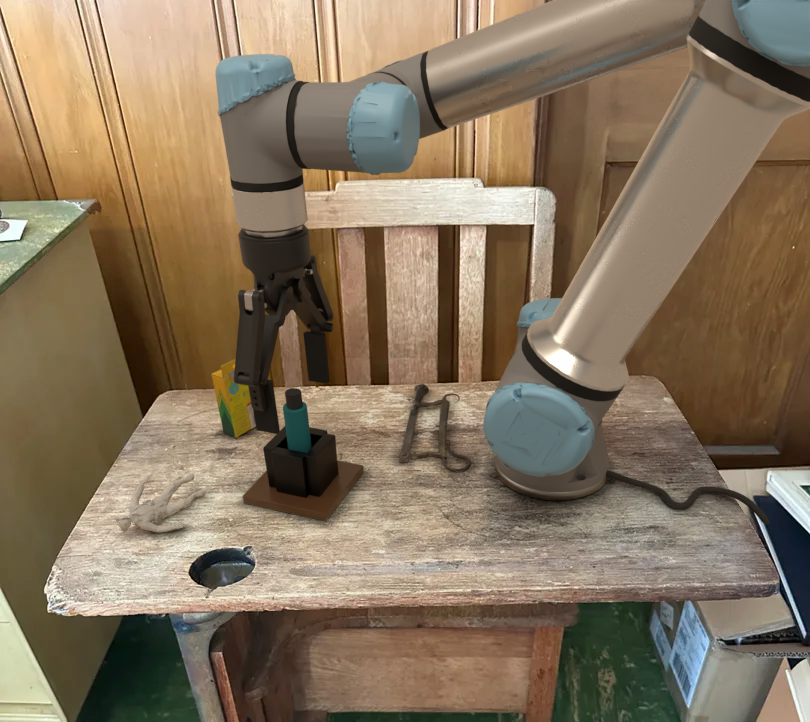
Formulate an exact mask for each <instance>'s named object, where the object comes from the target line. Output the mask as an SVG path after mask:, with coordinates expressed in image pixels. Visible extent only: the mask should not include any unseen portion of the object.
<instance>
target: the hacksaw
mask: <svg viewBox="0 0 810 722" xmlns="http://www.w3.org/2000/svg"><path fill="white" fill-rule="evenodd" d="M414 391H415V393H414V399H413V401H412V402H413V403H412V407H411V408H410V411H409V415H408V421H407V425H406V428H405V432H404V437H403V441H402V445H401V450H400V451H399V453H398V462H399V463H405V464H408V461H409V459H410V460H415V459H416V460H417V459H421V458H426V457H435V458H436V459H437V458H439V459H440V460H441V462H440V463H441V464H443V467H444V468H445V469H447V470H448V471H450V472H454V473H455V472H464V471H466V470H468V469H469V468H470V467H471V465H472V461H471V459H470V458H469V457H468V456H465V455H461V454H458V453H455V452H454V451H452V450H451V442H450V441H449V440H447V425H448V418H449V411H450V403H451V402H450V401H449V400H448V399H447V397H449V396H457V398H458V400H456V401H455V402H454V404H456V403H457V402H459V401H460V399H461V398H460V396H459V395H458V394H456V393H446V394H444V395H443V397H441V399H437V400H433V401H430V402H429V401H428V402H427V401H425V402H424V401H423V398H424V396H425V395H426V394H428V392H429V391H430V389H429V387H428V385H426V384H424V383H420V384H419V383H418V384H416V385H415V386H414ZM439 406H440V414H439V425H438V451H424V452H419V453H416V451H414V452H413V453H410V452H411V447H412V443H413V442H412V441H413V436H414V432H415V429H416V423H417V419H418V415H419V414H418V413H419V410H420V408H426V409H427V410H429V408H434V407H439ZM447 452H448V453H447ZM448 454H450V455H452V456H454V457H457V458H460V459H463V460H466V461H467V465H466V466H465V467H462V468H461V467H460V468H452V467H450V466H448V465H447V463H448V461H447V459H448Z"/></svg>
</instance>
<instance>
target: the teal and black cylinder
mask: <svg viewBox="0 0 810 722" xmlns="http://www.w3.org/2000/svg"><path fill="white" fill-rule="evenodd" d="M284 397H285V398H284V399H285V403H284V404H283V405H282V413H283V421H284V426H285V428H286V436H287V443H288V449H289V450H294V451H300V452H305V453H308V452H309V450H310V449H311V448H312V446H311V437H310V429H309V427H310V419H309V412H308V404H307V403H306V402H304V401H303V395H302V391H301V389H300V388H296V387H292V388H288V389H285V391H284Z"/></svg>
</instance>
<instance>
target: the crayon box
mask: <svg viewBox="0 0 810 722" xmlns="http://www.w3.org/2000/svg"><path fill="white" fill-rule="evenodd" d="M235 359H236V358H234V359H231V360H229V361H227V362H225V363H223V364H221V365H220V369H219V370H217V371H215V372H212V373H211V374H210V375H211V379H212V384H213V389H214V394H215V397H216V398H215V399H216V403H217V406H218V412H219V418H220V422H221V427H222V432H223V433H224V434H225V435H228V436H230V437H232V438H234V439H237V438H239V437H240V436H242V435H243V434H245V433H247V432H249V431H251V430H253V429H254V428H256V424H255V418H254V412H253V408H252V405H251V398H250V393H249V387H248V386H247V385H241V384H236V383H235V382H234V371H235Z"/></svg>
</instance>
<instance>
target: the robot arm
mask: <svg viewBox="0 0 810 722" xmlns="http://www.w3.org/2000/svg"><path fill="white" fill-rule="evenodd" d="M683 49H687V50H688V51H687V52H688V58H689V70H688V72H687V74H686V76H685V78H684V79H683V81H682V83H681V85H680V87H679V88H678V90H677V92H676V94H675V95H674V97H673V99H672V101H671V102H670V105H669V106H668V108H667V110H666V112H665V114H664V115H663V117H662V119H661V121H660V123H659V124H658V125H657V128H656V130H655V131H654V133H653V135H652V137H651V138H650V140H649V142H648V144H647V146H646V148H645V149H644V151H643V153H642V155H641V157H640V158H639V160H638V161H637V164H636V165H635V167H634V169H633V170H632V172H631V175H630V176H629V178H628V179H627V181H626V183H625V185H624V187H623V188H622V191H621V192H620V194H619V195H618V197H617V199H616V201H615V202H614V204H613V207H612V208H611V210H610V212H609V214H608V216H607V217H606V219H605V221H604V223H603V225H602V226H601V228H600V229H599V231H598V233H597V235H596V237H595V239H594V240H593V243H592V244H591V246H590V248H589V250H588V252H586V255H585V257H584V259H583V260H582V262H581V264H580V265H579V267H578V269H577V271H576V273H575V275H574V277H572V279H571V282H570V284H569V286H568V287H567V289H566V290H565V292H564V295H563V296H562V297H560V298H559V297H552V298H541V299H536V300H532V301H530V302H527V303H526V304H525V305H523V306H522V307H521V309H520V311H519V316H518V321H517V322H516V327H517V338H516V339H517V340H516V345H515V350H514V352H513V354H512V356H511V358H510V360H509V361H508V364H507V365H506V368H505V370H504V372H503V374H502V376H501V378H500V380H499V381H498V384H497V386H496V388H495V390H494V392H493V393H492V395H491V396H490V397H489V398H488V400H487V402H486V405H485V411H484V416H483V422H482V423H483V434H484V437H485V439H486V441H487V444H488V446H489V449H490V450H491V451H492V453H493V454H494V455H495V456H494V457H495V458H494V470H495V474H496V476H497V478H498V479H499V480H500V481H501V483H502V484H504V485H505V487H507V488H509V489H511V490H512V491H514V492H516V493H518V494H521V495H524V496H526V497H529V498H534V499H538V500H545V501H570V500H577V499H580V498H581V499H582V498H585V497H587V496H590V495H592V494H594V493H596V492H597V491H599V490H600V489H601V488H602V487H603V486H604V485H605V484H606V482H607V480H608V478H609V479H612V480H615V481H618V482H621V483H624V484H627V485H630V486H633V487H636V488H639V489H644V490H646V491H649V492H652V493H654V494H656V495H658V496H660V497H661V498H662V499H663V501H664V503H665V504H666V505H667V506H668V507H670V508H671V509H677V510H684V509H688V508H690V507H691V506H692V505H693V504H694V503H695V501H696V500H697V498H698V497H699V496H700V495H702V494H716V495H723V496H727V497H730V498H733V499H735V500H736V501H739V502H741V503H742V504H744V505H745V506H747V507H748V508H749V509H750V510H751V511H752V512H753V513H754V514H755V515H756V517H757V518H758V519H759V520H760V521H761V523H763V524H766V525H770V524H771V521H770V519H769V517H768V516H767V515H766V513H765V512H764V511H763V509H761V507H760V506H759V505H758V504H756V503H755V502H754V501H753V500H752V499H751V498H749V497H747V496H746V495H744V494H742V493H740V492H738V491H736V490H733V489H729V488H725V487H720V486H719V487H717V486H699V487H697V488H695V489H694V490H693V491H692V492H691V493H690V495H689V496H688V498H687V500H685V501H680V502H679V501H675V500H674V499H672V498H671V496H670V495H669V493H668V492H667V491H666V490H664V489H663V488H661V487H659V486H657V485H654V484H651V483H648V482H646V481H642V480H639V479H635V478H632V477H629V476H626V475H623V474H620V473H617V472H613V471H611V470H610V457H609V453H608V447H607V443H606V438H605V432H604V428H603V427H604V426H603V419H604V417H605V416H606V414H607V413H608V412H609V410H610V408H611V406H612V405H613V404H614V402H615V401H616V400H617V398H618V397H619V395H620V394H621V392H622V391H623V389H624V388H625V386H626V385H627V383H628V381H629V376H630V375H629V370H628V366H627V363H626V358H627V356H628V355H629V353H630V352H631V351H632V349H633V347H634V346H635V345H636V342H638V340H639V339H640V337H641V336H642V334H643V332H644V331H645V330H646V328H647V326H648V325H649V323H650V322H651V320H652V319H653V318H654V316H655V315H656V313H657V311H658V310H659V308H660V307H661V306H662V303H663V302H664V301H665V299H666V298H667V296H668V295H669V293H670V292H671V290H672V288H673V287H674V285H675V284H676V283H677V282H678V280H679V278H680V277H681V275H682V274H683V272H684V271H685V269H686V268H687V266H688V264H690V262H691V260H692V259H693V257H694V255H695V253H697V251H698V249H699V248H700V247H701V245H702V244H703V242H704V240H705V239H706V237H707V236H708V234H709V233H710V232H711V230H712V228H713V227H714V225H715V224H716V223H717V220H718V219H719V218H720V216H721V215H722V213H724V210H725V209H726V208H727V206H728V204H729V203H730V201H731V200H732V198H733V196H734V195H735V194H736V192H737V190H738V189H739V188H740V186H741V184H742V183H743V182H744V180H746V179H745V178H746V177H747V176H748V174H749V173H750V172H751V170H752V168H753V166H754V165H755V164H756V162H757V160H758V159H759V158H760V156H761V155H762V153H763V152H764V150H765V149H766V147H767V146H768V144H769V143H770V141H771V140H772V138H773V136H774V135H775V133H776V132H777V130H778V129H779V127H780V126H781V124H782V123H783V121H785V120H786V119H788V118H790V117H793V116H795V115H798V114H801V113H803V112H806V111H808V110H810V0H550V1H547V2H544V3H541V4H540V5H538V6H535V7H532V8H529V9H527V10H525V11H523V12H520V13H518V14H515V15H513V16H510V17H508V18H505V19H503V20H502V19H501V20H500V21H497V22H495V23H493V24H490V25H487V26H485V27H483V28H480V29H478V30H477V29H476V30H475V31H473V32H469V33H467V34H465V35H462V36H460V37H458V38H455V39H452V40H450V41H448V42H445V43H443V44H440V45H438V46H435V47H433V48H430V49H429V50H427V51H423V52H421V53H418V54H415V55H412V56H410V57H408V58H405V59H401V60H397V61H395V62H391V63H390V64H387V65H385V66H383V67H381V68H380V69H378V70H376V71H374V72H370V73H367V74H365V75H362V76H360V77H357V78H354V79H352V80H350V81H338V82H337V81H335V82H332V81H329V82H327V81H323V82H322V81H321V82H319V81H316V82H313V81H311V82H310V81H303V80H299V79H297V78H296V77H295V76H296V74H295V72H294V66H293V62H292V61H291V59H290V58H288V57H287V56H286V55H283V54H273V53H271V54H270V53H257V54H255V53H254V54H242V55H234V56H228V57H225V58H223V59H221V60H220V61H219V62H218V63H217V65H216V67H215V84H216V94H217V105H218V110H217V115H218V117H219V119H220V124H221V129H222V136H223V142H224V147H225V153H226V159H227V166H228V171H229V180H230V186H231V192H232V193H231V196H232V200H233V207H234V213H235V220H236V225H237V227H239V228H241V229H240V230H239V232H238V233H237V237H238V242H239V243H238V244H239V249H240V256H241V263H242V264H243V267H245V268H246V269H247V270H248V271H250V272H251V273H252V274H253V277H254V279H253V288H252V289H250V290H248V289H239V290H238V293H237V300H238V311H239V316H238V324H237V325H238V327H237V337H236V338H237V339H236V347H235V348H236V349H235V358H234V359H235V371H234V382H235V383H236V384H241V385H247V386H248V387H249V393H250V398H251V405H252V408H253V412H254V418H255V424H256V427H255V430H256V431H257V432H263V433H267V434H268V433H269V434H274V435H276V434H277V433H278V432H279V431H280V430H281V429H280V424H279V416H278V409H277V408H278V407H277V403H276V402H277V401H276V394H275V387H274V380H273V379H269V376H270V371H271V367H272V363H273V358H274V353H275V349H276V344H277V339H278V334H279V331H280V328H281V327H283V326H284V325H285V322H286V319H287V316H288V315H289V314H290V312H291V311H293V313H294V314H295V315H296V316H297V317H298V319H299V320H300V322H301V323H302V324H303V326H304V327H305V328H306V329H307V330H306V331H305V332H303V333H302V334H303V342H304V351H305V352H304V353H305V360H306V369H307V379H308V381H309V382H313V383H320V384H327V385H328V384H329V383H330V382H331V381H330V370H329V357H328V349H327V347H328V346H327V337H326V333H332V332H333V330H334V323H333V322H332V321H333V320H334V317H335V316H334V312H333V309H332V306H331V303H330V301H329V299H328V296H327V293H326V291H325V287H324V284H323V282H322V279H321V277H320V274H319V270H318V265H317V258H316V255H314V254H312V252H311V243H310V240H311V239H310V231H309V228H308V227H307V226H306V225H305V224H306V223H307V222H308V220H309V218H308V210H307V209H308V208H307V201H306V200H307V199H306V192H305V191H306V190H305V182H304V181H305V180H304V170H319V171H320V170H321V171H334V172H347V173H363V174H368V175H371V176H379V175H381V174H400V173H401V174H402V173H404V172H406V171H407V170H409V169H410V168H411V167H412V165H413V163H414V160H415V157H416V156H417V154H418V149H419V144H420V140H421V139H424V138H428V137H429V136H433V135H435V134H438V133H439V134H440V133H441V132H444V131H446V130H449V129H451V128H453V127H457V126H460V125H463V124H466V123H468V122H469V123H470V122H471V121H475V120H477V119H481V118H483V117H486V116H490V115H492V114H495V113H498V112H501V111H504V110H506V109H510V108H514V107H516V106H520V105H521V104H522V105H523V104H525V103H527V102H530V101H533V100H536V99H540V98H543V97H545V96H548V95H551V94H554V93H557V92H559V91H563V90H565V89H569V88H571V87H574V86H577V85H582V84H583V83H586V82H589V81H592V80H595V79H599V78H601V77H603V76H607V75H610V74H613V73H617V72H618V71H623V70H624V69H629V68H632V67H633V66H636V65H639V64H643V63H645V62H648V61H651V60H653V59H657V58H659V57H662V56H665V55H669V54H672V53H675V52H679V51H680V50H683ZM308 330H309V331H308Z"/></svg>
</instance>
